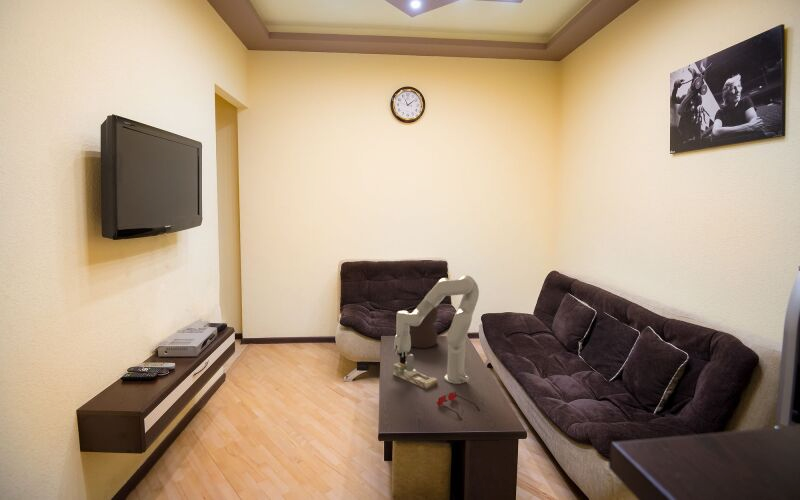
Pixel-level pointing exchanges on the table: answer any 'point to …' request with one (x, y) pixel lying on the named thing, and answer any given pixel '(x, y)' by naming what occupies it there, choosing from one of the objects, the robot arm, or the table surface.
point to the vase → (423, 330)
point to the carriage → (410, 365)
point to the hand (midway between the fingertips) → (402, 362)
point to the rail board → (414, 376)
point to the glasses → (451, 397)
